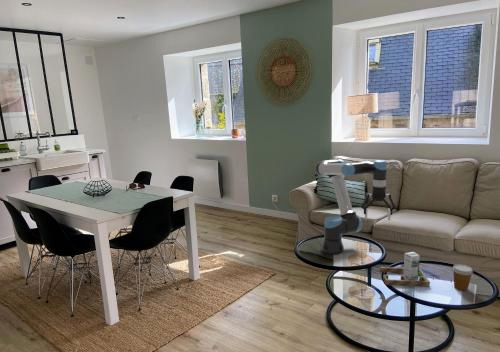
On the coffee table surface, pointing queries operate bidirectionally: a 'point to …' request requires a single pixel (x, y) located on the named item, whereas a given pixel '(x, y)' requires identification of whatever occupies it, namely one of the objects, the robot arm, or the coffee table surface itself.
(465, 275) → the disposable coffee cup
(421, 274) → the wooden tray
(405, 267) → the syrup box
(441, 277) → the coffee table surface
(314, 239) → the coffee table surface
